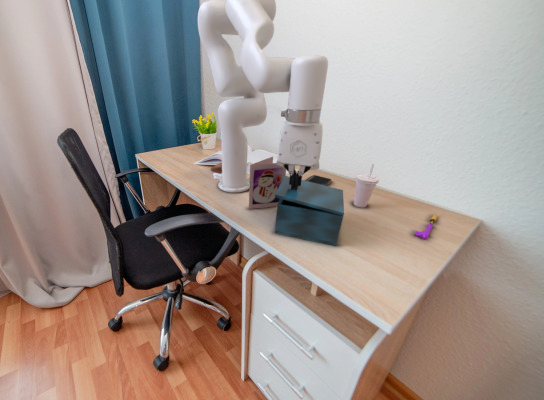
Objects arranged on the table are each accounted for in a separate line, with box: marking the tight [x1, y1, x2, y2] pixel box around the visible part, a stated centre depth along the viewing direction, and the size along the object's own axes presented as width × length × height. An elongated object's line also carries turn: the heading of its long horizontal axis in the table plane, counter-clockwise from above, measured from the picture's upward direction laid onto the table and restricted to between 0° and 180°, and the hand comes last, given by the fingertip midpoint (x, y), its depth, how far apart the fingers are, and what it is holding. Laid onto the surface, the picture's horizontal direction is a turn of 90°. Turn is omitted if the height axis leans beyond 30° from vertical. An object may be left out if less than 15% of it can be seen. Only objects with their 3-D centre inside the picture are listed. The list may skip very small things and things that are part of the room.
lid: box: [275, 175, 345, 217], centre depth 64 cm, size 16×14×1 cm
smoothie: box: [353, 163, 380, 208], centre depth 76 cm, size 6×6×14 cm
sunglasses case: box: [210, 161, 222, 174], centre depth 113 cm, size 18×7×7 cm, turn 140°
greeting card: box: [248, 156, 287, 210], centre depth 78 cm, size 11×7×15 cm, turn 99°
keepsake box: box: [274, 199, 344, 247], centre depth 67 cm, size 16×14×9 cm
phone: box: [304, 174, 332, 186], centre depth 93 cm, size 8×1×15 cm
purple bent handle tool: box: [414, 214, 438, 240], centre depth 67 cm, size 3×1×16 cm
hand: (294, 187), depth 65 cm, fingers closed
